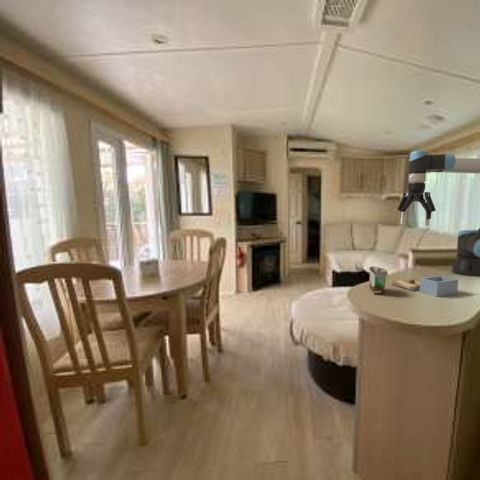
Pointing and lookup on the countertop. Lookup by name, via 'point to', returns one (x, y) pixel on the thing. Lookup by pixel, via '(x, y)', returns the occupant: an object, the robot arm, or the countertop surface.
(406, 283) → the lid
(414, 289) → the mat
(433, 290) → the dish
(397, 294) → the countertop surface
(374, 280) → the food container
